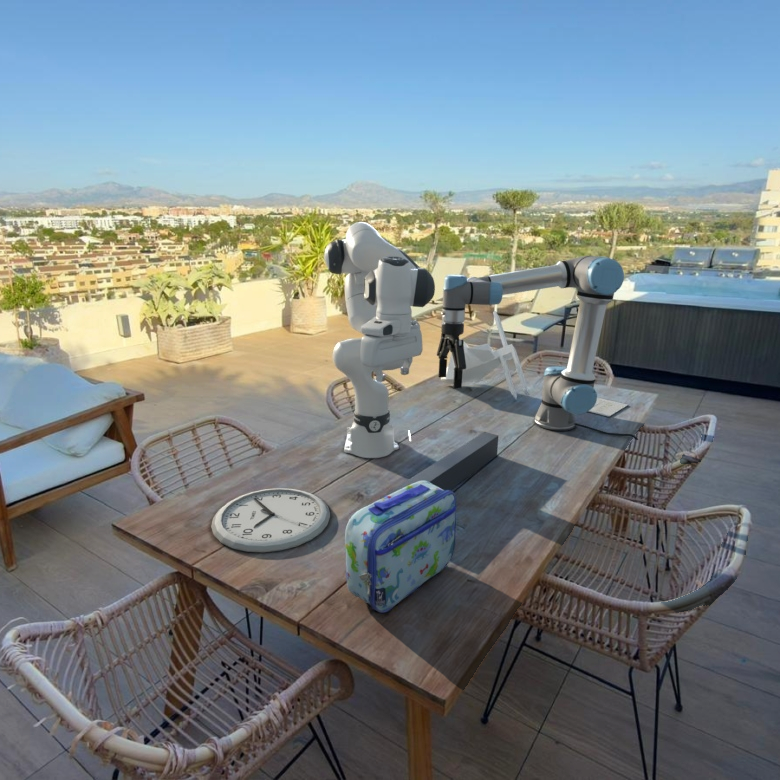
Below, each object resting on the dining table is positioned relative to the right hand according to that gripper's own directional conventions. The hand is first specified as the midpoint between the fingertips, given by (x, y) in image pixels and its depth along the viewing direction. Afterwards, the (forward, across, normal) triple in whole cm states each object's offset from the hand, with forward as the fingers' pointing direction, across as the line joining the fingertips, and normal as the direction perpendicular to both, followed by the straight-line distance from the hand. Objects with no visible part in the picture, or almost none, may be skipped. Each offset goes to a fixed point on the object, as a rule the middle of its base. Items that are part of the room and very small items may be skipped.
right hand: (449, 382), depth 182 cm
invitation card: (+21, -17, +79) cm, 84 cm away
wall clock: (+22, +39, -64) cm, 78 cm away
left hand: (-14, +38, -32) cm, 52 cm away
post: (+22, +32, -13) cm, 41 cm away
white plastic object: (+21, -48, +36) cm, 64 cm away
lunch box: (+22, +72, -40) cm, 85 cm away
